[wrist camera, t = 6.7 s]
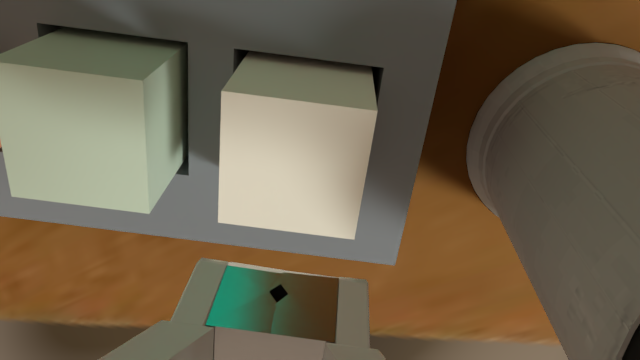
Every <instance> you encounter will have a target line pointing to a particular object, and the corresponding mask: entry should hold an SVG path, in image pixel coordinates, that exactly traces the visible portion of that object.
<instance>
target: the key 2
mask: <svg viewBox="0 0 640 360" xmlns="http://www.w3.org/2000/svg"><path fill="white" fill-rule="evenodd" d="M377 112H378V110H377V103H376V96H375V89H374V82H373V75H372V67H371V66H366V65H358V64H351V63H343V62H335V61H328V60H320V59H312V58H304V57H297V56H289V55H281V54H274V53H266V52H258V51H250V50H249V52H248V53H247V55H246V56H245V58H244V59H243V60H242V62H241V63H240V65H239V66H238V68H237V69H236V71H235V72H234V73H233V75H232V76H231V78H230V79H229V81H228V82H227V83H226V85H225V86H224V88H223V89H222V91H221V121H220V160H219V198H218V223H225V224H233V225H241V226H249V227H257V228H265V229H273V230H281V231H289V232H297V233H305V234H312V235H320V236H328V237H336V238H344V239H352V240H354V239H355V234H356V228H357V222H358V217H359V211H360V206H361V200H362V195H363V189H364V184H365V178H366V173H367V167H368V162H369V156H370V151H371V145H372V140H373V134H374V128H375V123H376V117H377Z"/></svg>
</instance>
